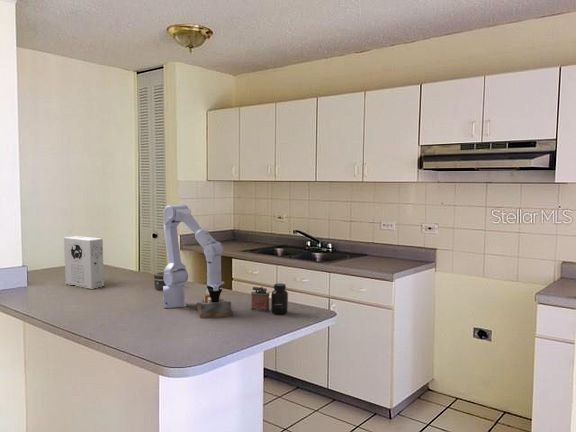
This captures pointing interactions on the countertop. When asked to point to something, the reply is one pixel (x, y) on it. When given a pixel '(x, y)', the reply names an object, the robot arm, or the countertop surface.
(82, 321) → the countertop surface
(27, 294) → the countertop surface
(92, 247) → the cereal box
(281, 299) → the supplement bottle
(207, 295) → the block
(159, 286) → the jar
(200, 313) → the press bed
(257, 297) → the lighter
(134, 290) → the countertop surface
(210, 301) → the block
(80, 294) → the countertop surface
